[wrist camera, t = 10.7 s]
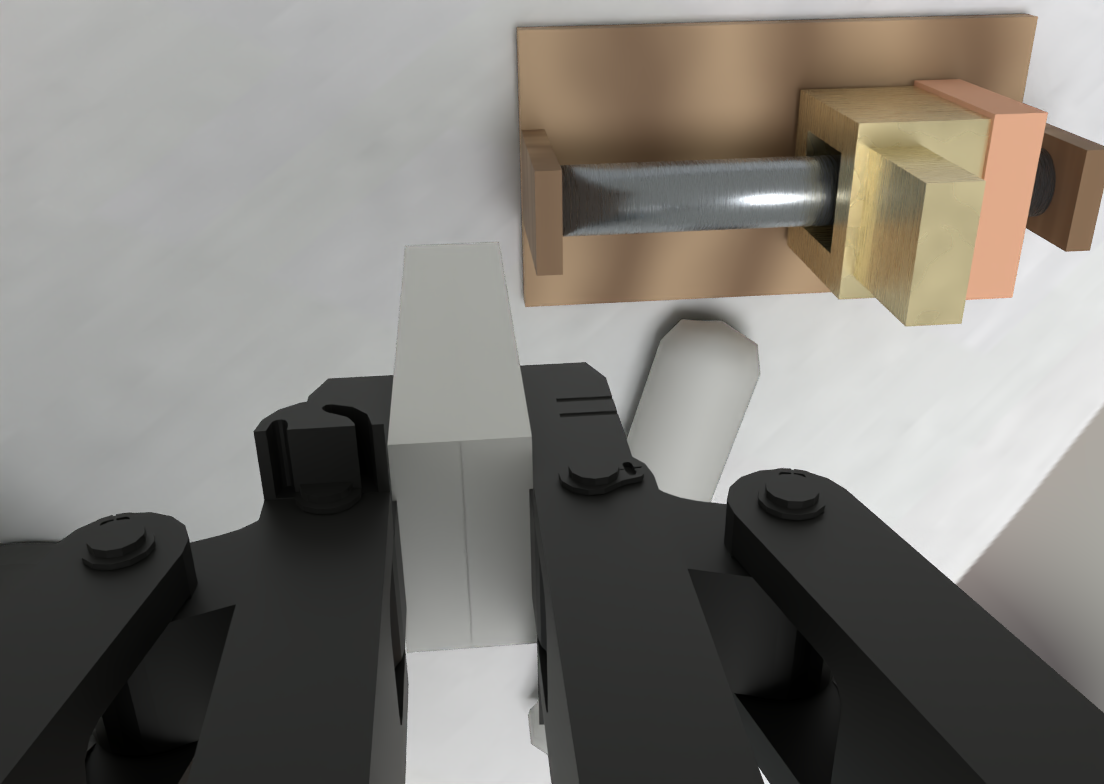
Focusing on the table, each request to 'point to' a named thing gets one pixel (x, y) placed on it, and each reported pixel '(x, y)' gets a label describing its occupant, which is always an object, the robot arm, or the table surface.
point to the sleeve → (896, 198)
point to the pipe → (719, 194)
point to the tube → (688, 417)
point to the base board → (737, 135)
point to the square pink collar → (999, 182)
